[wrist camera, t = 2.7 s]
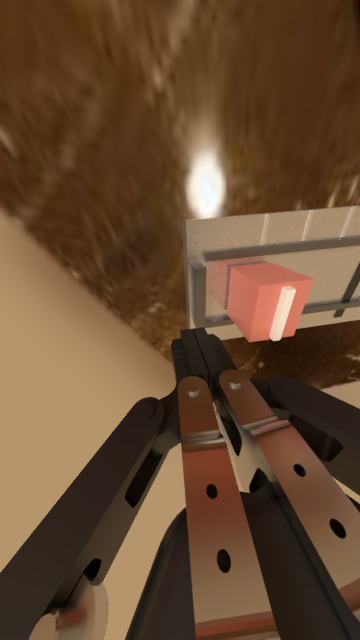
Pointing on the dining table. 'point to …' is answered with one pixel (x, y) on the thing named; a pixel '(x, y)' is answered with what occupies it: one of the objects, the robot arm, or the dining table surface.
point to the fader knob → (266, 300)
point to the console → (280, 248)
